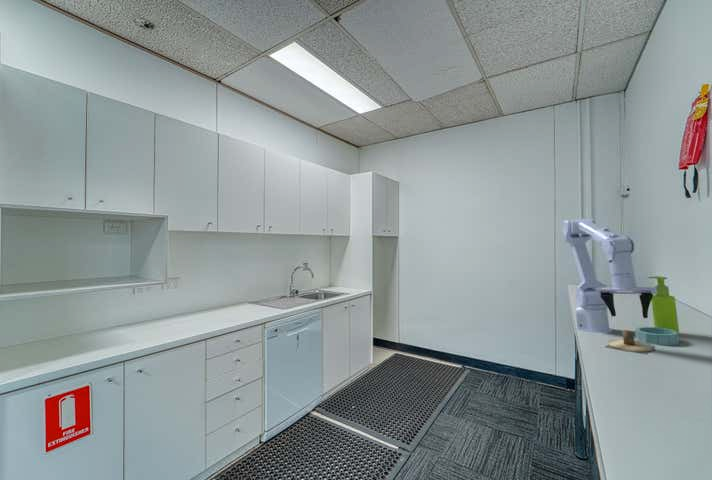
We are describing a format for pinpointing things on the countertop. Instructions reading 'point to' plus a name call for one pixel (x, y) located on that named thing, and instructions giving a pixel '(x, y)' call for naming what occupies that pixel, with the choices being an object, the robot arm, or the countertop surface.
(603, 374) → the countertop surface
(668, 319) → the soap dispenser
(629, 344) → the lid
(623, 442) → the countertop surface
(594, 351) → the countertop surface
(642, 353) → the mat
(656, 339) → the bowl
